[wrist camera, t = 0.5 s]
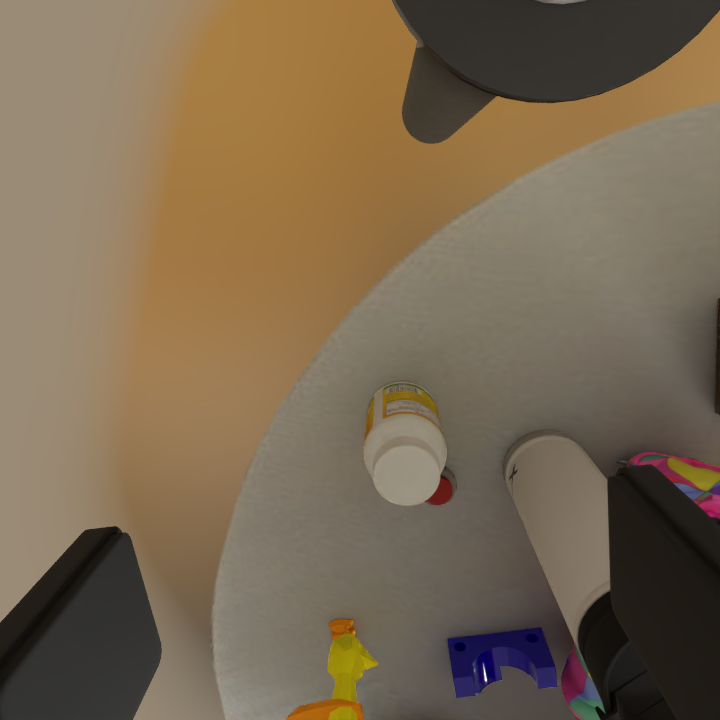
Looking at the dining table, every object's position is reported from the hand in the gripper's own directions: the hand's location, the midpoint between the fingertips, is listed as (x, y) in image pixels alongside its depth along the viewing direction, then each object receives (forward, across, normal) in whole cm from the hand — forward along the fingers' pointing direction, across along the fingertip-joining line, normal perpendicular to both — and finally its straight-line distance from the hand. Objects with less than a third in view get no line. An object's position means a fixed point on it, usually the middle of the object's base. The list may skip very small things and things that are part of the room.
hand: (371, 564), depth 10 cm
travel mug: (+30, -11, +14) cm, 35 cm away
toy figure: (+30, +7, +27) cm, 41 cm away
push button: (+30, -3, +14) cm, 33 cm away
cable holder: (+30, -6, +31) cm, 44 cm away
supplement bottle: (+30, -1, +8) cm, 31 cm away
